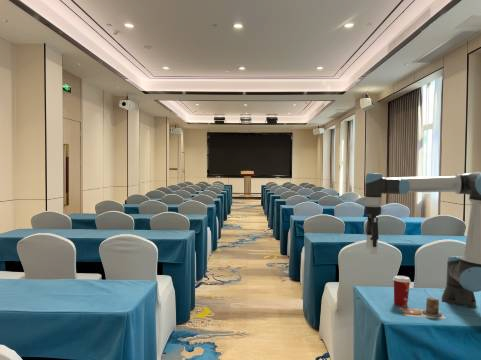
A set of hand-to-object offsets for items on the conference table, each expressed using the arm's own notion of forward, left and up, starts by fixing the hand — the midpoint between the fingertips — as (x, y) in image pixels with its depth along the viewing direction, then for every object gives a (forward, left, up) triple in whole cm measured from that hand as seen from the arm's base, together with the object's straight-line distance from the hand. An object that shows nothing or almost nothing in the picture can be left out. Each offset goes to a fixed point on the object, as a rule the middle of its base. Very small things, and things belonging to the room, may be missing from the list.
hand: (371, 251), depth 209 cm
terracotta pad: (-17, +11, -24) cm, 31 cm away
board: (-21, +11, -25) cm, 35 cm away
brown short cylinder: (-25, +11, -24) cm, 36 cm away
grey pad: (-25, +11, -24) cm, 37 cm away
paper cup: (-14, 0, -26) cm, 29 cm away
